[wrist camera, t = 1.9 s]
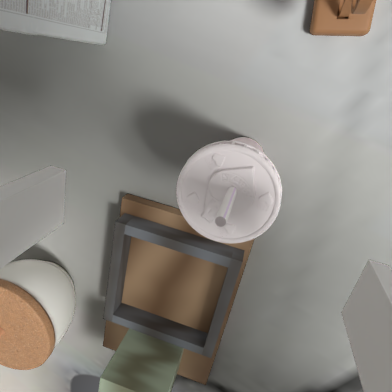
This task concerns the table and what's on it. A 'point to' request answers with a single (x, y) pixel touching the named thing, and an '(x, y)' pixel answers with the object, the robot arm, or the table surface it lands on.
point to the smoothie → (229, 191)
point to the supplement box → (58, 19)
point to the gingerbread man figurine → (342, 17)
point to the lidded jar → (33, 311)
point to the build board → (165, 298)
